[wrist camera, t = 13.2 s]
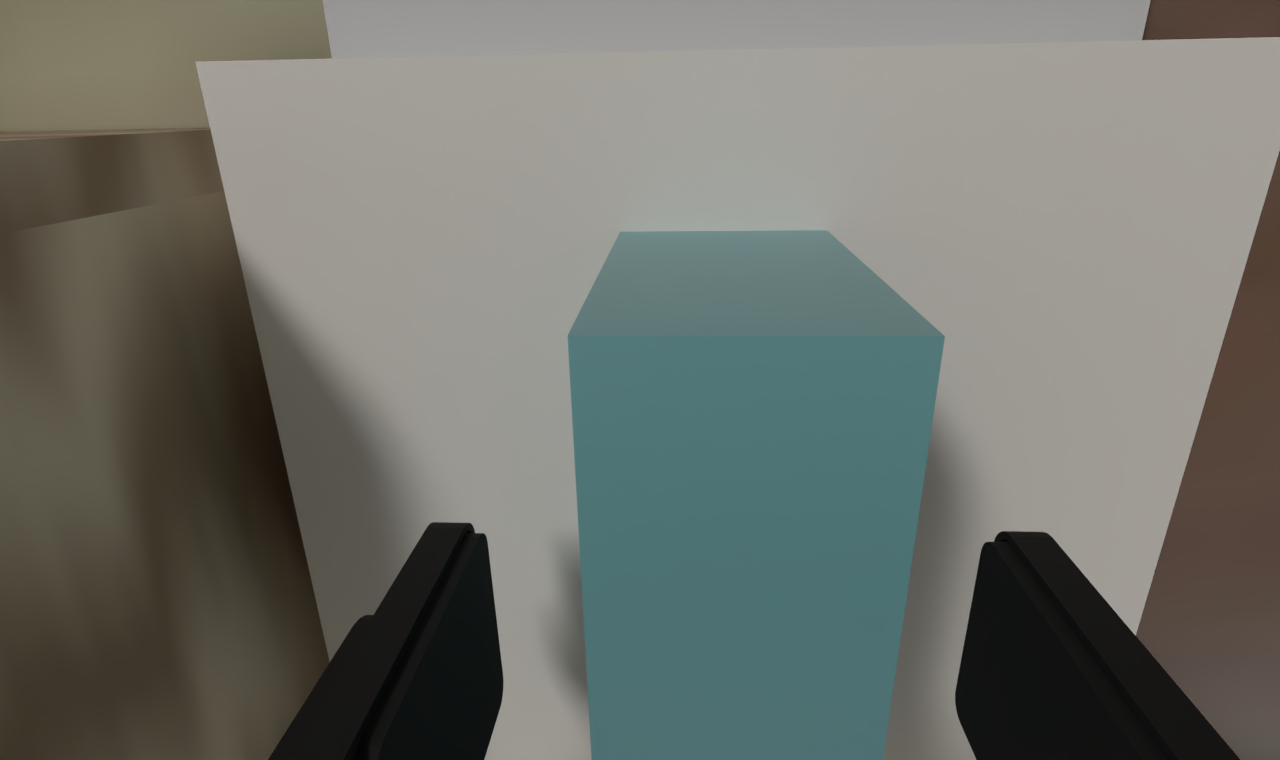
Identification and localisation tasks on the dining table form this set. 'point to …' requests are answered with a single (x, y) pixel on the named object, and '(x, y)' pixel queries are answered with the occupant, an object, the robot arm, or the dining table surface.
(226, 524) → the crate
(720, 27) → the mat
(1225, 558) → the dining table surface
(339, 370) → the lid
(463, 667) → the robot arm
